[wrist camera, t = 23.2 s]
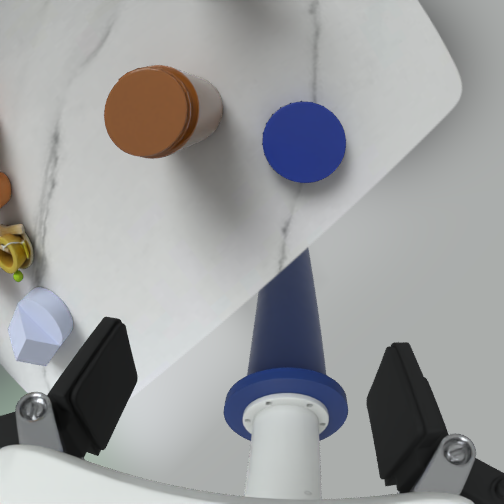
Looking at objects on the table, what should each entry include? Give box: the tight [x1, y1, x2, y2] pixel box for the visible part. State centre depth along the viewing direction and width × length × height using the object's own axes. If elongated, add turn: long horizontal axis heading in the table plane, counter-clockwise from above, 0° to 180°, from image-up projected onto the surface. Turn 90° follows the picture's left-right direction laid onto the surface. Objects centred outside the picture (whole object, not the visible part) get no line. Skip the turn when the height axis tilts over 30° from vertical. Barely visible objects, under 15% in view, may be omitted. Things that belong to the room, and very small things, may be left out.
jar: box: [104, 65, 223, 159], centre depth 23 cm, size 7×7×11 cm
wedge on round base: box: [8, 287, 73, 366], centre depth 39 cm, size 9×7×13 cm
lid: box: [262, 101, 346, 183], centre depth 27 cm, size 8×8×2 cm
